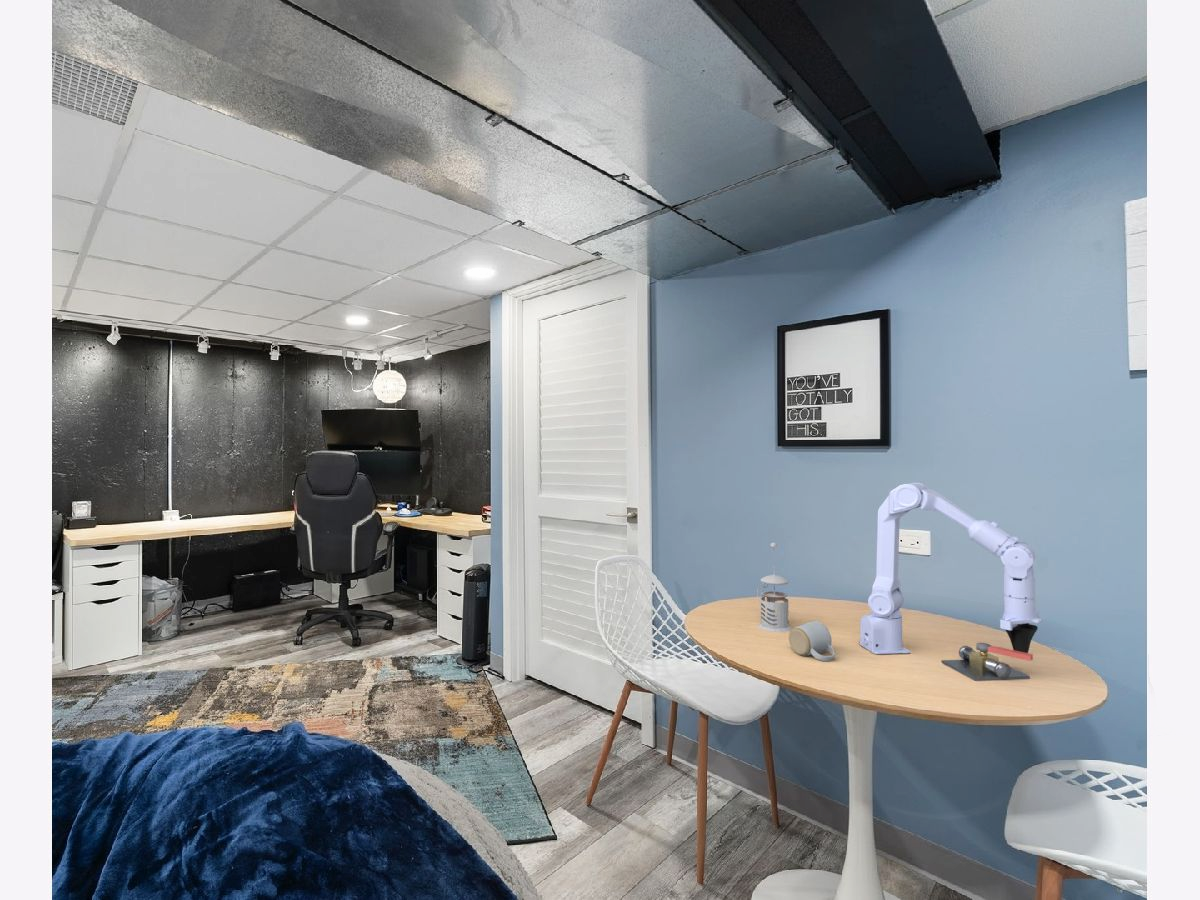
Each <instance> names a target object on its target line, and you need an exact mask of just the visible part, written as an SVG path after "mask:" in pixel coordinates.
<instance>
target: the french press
mask: <svg viewBox="0 0 1200 900" xmlns="http://www.w3.org/2000/svg"><path fill="white" fill-rule="evenodd" d="M769 545H770V547H773V551H775V547H776V548H777V547H778V544H777V542H771V543H770V544H769ZM775 570H776V569H775V567H773V574H770V575H765V576H764V577H762V578H760V579H759V580H760V582H761V583H760V584H758V587H757V588H756V589H757V590H756V594H757V595H756V596H757V601H758V603H759V605H760V619H761V620H760V622H759V623H758V624H757V627H758V628H759V629H760V630H763V631H767V632H772V633H785V632H790V631H791V630H792V629H793V628H792V626H791V625H790V623H789V621H790V620H789V600H788V598H787V596H788V594H787V593H785V592H781V591H776V589H775V588H776V586H784V585H787V584H789V580H788V579H786V578H785V577H783V576H781V575H777V574H775ZM766 584H767V585H766ZM761 585H762V587H761V590H763V588H765V589H766V588H768V587H769V585H770V586H772V585H773V590H767V591H762V592H761V598H760V599H759V588H760V586H761ZM765 585H766V586H765ZM765 599H766V600H765ZM777 601H778V602H777ZM779 601H781V602H779Z"/></svg>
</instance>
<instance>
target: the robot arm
mask: <svg viewBox="0 0 1200 900" xmlns="http://www.w3.org/2000/svg"><path fill="white" fill-rule="evenodd" d="M918 508H920V510H926V511H932V512H933V511H934V512H937V513H939V514H940V515H942V516H944V517H945V518H947V519H948V520H950V521H951V522H954V523H955V524H956V525H958V526H960V527H961V528H963V529H965V530H966V531H967V532H968V536H969V539H970V540H971V541H973V542H974V543H976V544H977V545H979V546H980V547H981V548H982V549H985V550H986V551H988V553H991V554H992V555H993V556H995V557H998V558H1000V561H1001V563H1002V565H1003V568H1004V570H1003V571H1004V574H1003V576H1002V577H1003V611H1004V612H1003V613H1002V618H1000V619H999V623H1000V624H999V627H1000V629H1002V630H1005V632H1006V634H1007V636H1008V638H1009V641H1010V642H1011V643H1010V644H1011V646H1012V650H1015V651H1020V652H1025V653H1029V652H1030V651H1029V650H1030V647H1031V642H1032V639H1033V638H1034V636H1035V634H1036V632H1037V631H1038V625H1035V624H1041V623H1043V619H1042V618H1039V617H1040V615H1039V613H1040V612H1039V611H1037V610H1036V579H1035V578H1036V577H1035V576H1034V575H1035V569H1034V565H1033V564H1034V562H1035V560H1036V553H1035V550H1034V548H1033V547H1032V546H1030V545H1029V543H1028V542H1026V541H1023V540H1020V538H1019V537H1018V536H1016V535H1015V536H1012V535H1010V534H1009V533H1008V532H1006V531H1004V530H1003V529H1001V528H1000V527H999V523H997V522H995V521H994V520H993V521H992V522H990V521H989V520H987V519H981V520H978V519H976V518H975V517H973V516H972V515H970V514H969V513H968V512H966V511H964V509H963V508H960V507H959V506H958V505H956V504H955V503H954V502H952V501H950V499H948V498H947V497H945V496H944V495H942V494H940V493H939V492H937V491H936V490H934V489H932V488H928V487H927V486H926V485H925V484H923V483H921V482H911V483H904V484H900V485H898V486H897V487H895V488H894V489H892V490H890V491H889V494H888V496H887V497H886V499H884V501H883V502H882V504H881V505H880V506H879V508H878V510H877V529H876V531H877V536H876V567H875V568H876V569H875V570H876V571H875V572H876V573H875V580H874V581H873V584H872V587H871V588H872V589H871V594H870V595H869V597H868V600H867V604H868V608H869V610H870V613H869V614H865V615H862V616H861V617H860V623H859V624H860V625H859V627H860V633H859V634H860V639H859V640H860V642H859V643H858V645H860V646H862V647H863V648H865V649H866V650H868V651H869V652H871V653H872V654H875V655H886V654H887V655H889V654H890V655H891V654H910V653H911V651H910V650H909V649H907V648H906V647H903V614H902V612H901V610H900V609H901V608H902V607H903V605H904V602H905V597H904V595H903V592H902V590H901V582H900V580H899V559H900V558H899V554H900V553H899V552H900V551H899V550H900V522H901V521H900V519H901V518H902V517H903V516H905V515H907V514H908V513H909V512H910V511H912V510H914V509H918Z"/></svg>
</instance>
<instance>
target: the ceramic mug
mask: <svg viewBox="0 0 1200 900" xmlns="http://www.w3.org/2000/svg"><path fill="white" fill-rule="evenodd" d="M788 642H789V645H790V647H791V649H792V650H793V651H794V652H795V653H796V654H798V655H799V656H803V657H806V656H807V657H808V656H813V658H815V659H817V660H819V661H821V662H832V661H833V660H834V657H835V654H836V653H835V650H834V648H833V646H832V643H833V642H832V635H831V633H830V630H829V629H828V627H827V626H826V625H825V624H824V623H822V622H820V621H819V620H813V621H810V622H806V623H803V624H801V625H797V626H795V627H793V628H792V630H791V631H789V635H788ZM827 651H828V652H829V654H830V655H829V656H827V655H826V656H825V655H823V654H822V653H825V652H827Z"/></svg>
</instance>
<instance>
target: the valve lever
mask: <svg viewBox="0 0 1200 900" xmlns="http://www.w3.org/2000/svg"><path fill="white" fill-rule="evenodd" d="M975 644H976V650H977V651H978V652H980V651H983V652H987V653H993V654H997V655H1001V656H1006V657H1011V658H1015V659H1019V660H1024V661H1029V662H1031V661H1033V658H1034V654H1033V653H1029V652H1028V653H1025V652H1020V651H1015V650H1013V649H1009V648H1005V647H1000V646H996V645H991V644H990V643H986V642H977V643H975Z"/></svg>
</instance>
